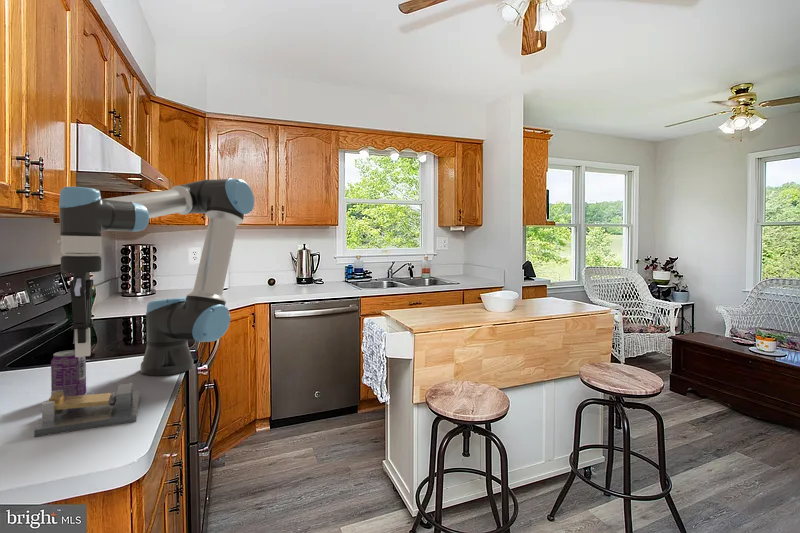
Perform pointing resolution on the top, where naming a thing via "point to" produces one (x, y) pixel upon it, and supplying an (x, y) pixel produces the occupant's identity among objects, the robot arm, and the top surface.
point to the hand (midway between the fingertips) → (83, 355)
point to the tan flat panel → (82, 400)
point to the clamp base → (89, 414)
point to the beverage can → (68, 373)
